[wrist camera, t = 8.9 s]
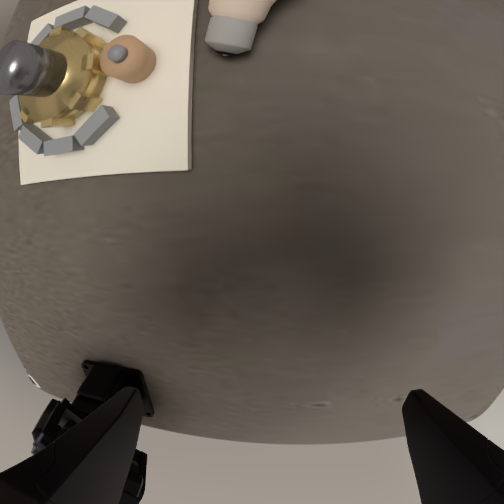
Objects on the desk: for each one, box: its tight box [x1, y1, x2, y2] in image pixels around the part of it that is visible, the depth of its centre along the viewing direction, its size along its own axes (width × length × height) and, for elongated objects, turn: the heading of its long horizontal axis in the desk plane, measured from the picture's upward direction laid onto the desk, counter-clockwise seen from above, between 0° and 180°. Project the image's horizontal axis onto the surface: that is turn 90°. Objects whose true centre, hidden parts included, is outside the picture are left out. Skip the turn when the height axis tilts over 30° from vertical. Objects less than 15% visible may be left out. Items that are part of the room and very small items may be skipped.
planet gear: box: [0, 26, 109, 128], centre depth 11 cm, size 7×7×7 cm
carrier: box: [9, 0, 198, 185], centre depth 13 cm, size 14×14×4 cm
